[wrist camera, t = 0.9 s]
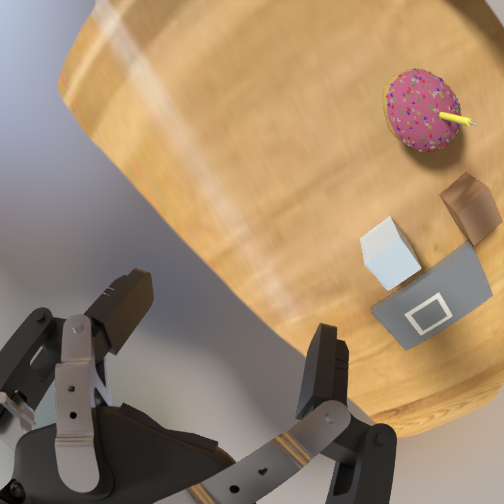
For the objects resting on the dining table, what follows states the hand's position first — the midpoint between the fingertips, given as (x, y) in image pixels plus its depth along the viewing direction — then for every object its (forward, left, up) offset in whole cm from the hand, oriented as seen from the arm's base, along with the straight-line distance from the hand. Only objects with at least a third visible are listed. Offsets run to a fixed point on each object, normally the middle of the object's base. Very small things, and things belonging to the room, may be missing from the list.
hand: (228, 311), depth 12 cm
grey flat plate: (-4, +29, -24) cm, 37 cm away
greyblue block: (-3, +15, -24) cm, 28 cm away
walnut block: (-15, +17, -24) cm, 32 cm away
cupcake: (-16, +4, -24) cm, 29 cm away
